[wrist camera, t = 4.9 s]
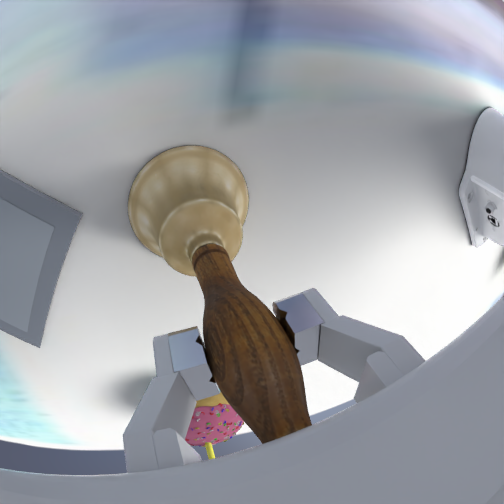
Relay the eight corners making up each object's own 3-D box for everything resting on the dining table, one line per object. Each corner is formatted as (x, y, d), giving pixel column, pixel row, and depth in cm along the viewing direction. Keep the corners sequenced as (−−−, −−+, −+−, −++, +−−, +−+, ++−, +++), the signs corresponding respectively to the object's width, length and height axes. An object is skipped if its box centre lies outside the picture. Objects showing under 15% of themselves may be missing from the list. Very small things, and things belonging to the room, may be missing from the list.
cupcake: (222, 403, 32) (253, 486, 22) (155, 405, 28) (174, 497, 19) (241, 361, 29) (284, 459, 19) (161, 361, 25) (184, 476, 15)
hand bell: (241, 135, 17) (469, 260, 4) (253, 244, 22) (378, 431, 9) (114, 162, 16) (11, 397, 3) (146, 271, 20) (175, 500, 7)
